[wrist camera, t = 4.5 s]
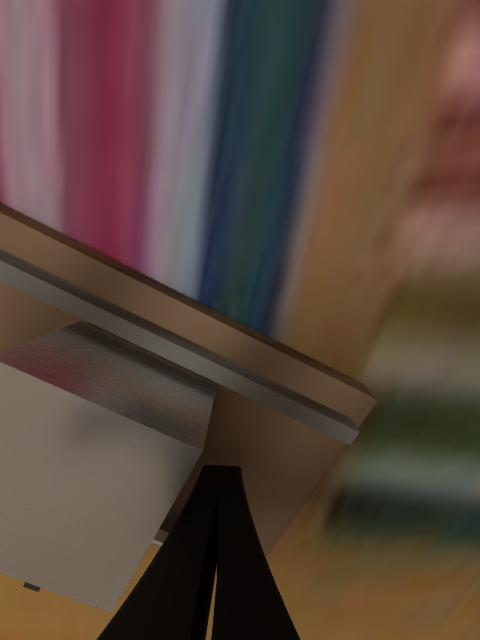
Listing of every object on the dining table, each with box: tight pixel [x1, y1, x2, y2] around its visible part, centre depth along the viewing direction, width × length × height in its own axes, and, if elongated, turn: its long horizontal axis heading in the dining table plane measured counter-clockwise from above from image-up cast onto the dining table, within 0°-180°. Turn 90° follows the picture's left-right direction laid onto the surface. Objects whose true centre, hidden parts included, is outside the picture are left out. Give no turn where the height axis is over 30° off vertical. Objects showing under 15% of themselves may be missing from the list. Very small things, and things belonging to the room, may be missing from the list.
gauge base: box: [0, 203, 378, 557], centre depth 8 cm, size 22×10×6 cm, turn 63°
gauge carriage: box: [0, 321, 217, 613], centre depth 8 cm, size 6×8×3 cm
